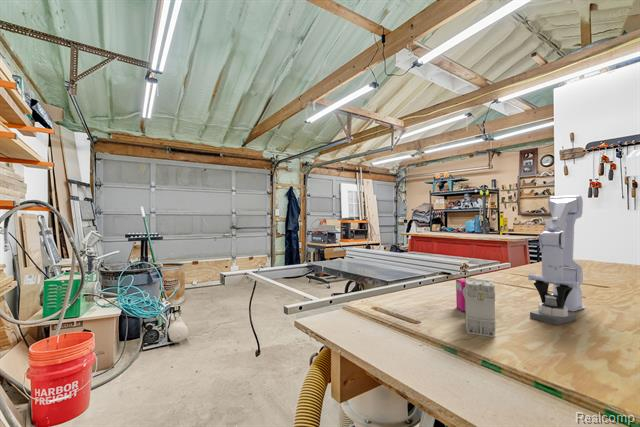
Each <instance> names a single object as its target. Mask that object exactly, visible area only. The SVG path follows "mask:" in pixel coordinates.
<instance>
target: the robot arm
mask: <svg viewBox="0 0 640 427" xmlns="http://www.w3.org/2000/svg"><path fill="white" fill-rule="evenodd" d="M583 203H584V202H583V197H582V195H580V194H577V195H558V196H557V195H555V196H553V195H552V196H549V197H548V200H547V206H548V210H549V212H550V214H551V216H552V217H550V218H548V219H547V221H546V224H545V226H544V229H543V232H540V233H539V235H538V236H539V238H538V242H539V248H540V249H539V250H540V253H541V275H540V274H538V275H537V274H528V277H527V278H528V281H535V282H533V286H534V287H535V288H536V290H537V292H538V294H539V297H540V300H541V303H545V297H544V294H545V293H549V292H548V291H549V286H550V285H553V292H552V293H556V294H558V307H564V306H565V307H567V308H568V312H569V311H570V312H575V311H576V312H577V311H580V310H584V309H585V308H586V306H583V293H582V289H581V286H582V285H583V282H584V274H583V266H582V265H581V264H580V263H578V262H576V261H575V260H574V245H575V244H574V243H575V242H574V240H575V224H576V222H577V219H580V218H582V217H583V216H582V215H583V207H584V206H583V205H584V204H583Z"/></svg>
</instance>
